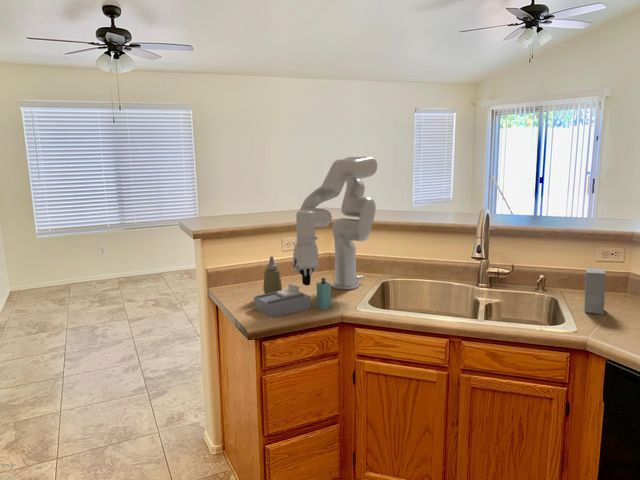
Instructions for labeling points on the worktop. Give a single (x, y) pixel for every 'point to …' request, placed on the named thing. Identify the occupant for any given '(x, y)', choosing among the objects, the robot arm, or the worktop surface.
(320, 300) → the teal rectangular bottle
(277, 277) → the squeeze bottle
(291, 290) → the shutter
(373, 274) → the worktop surface
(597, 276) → the skincare box
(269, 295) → the grey flat box
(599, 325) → the worktop surface
